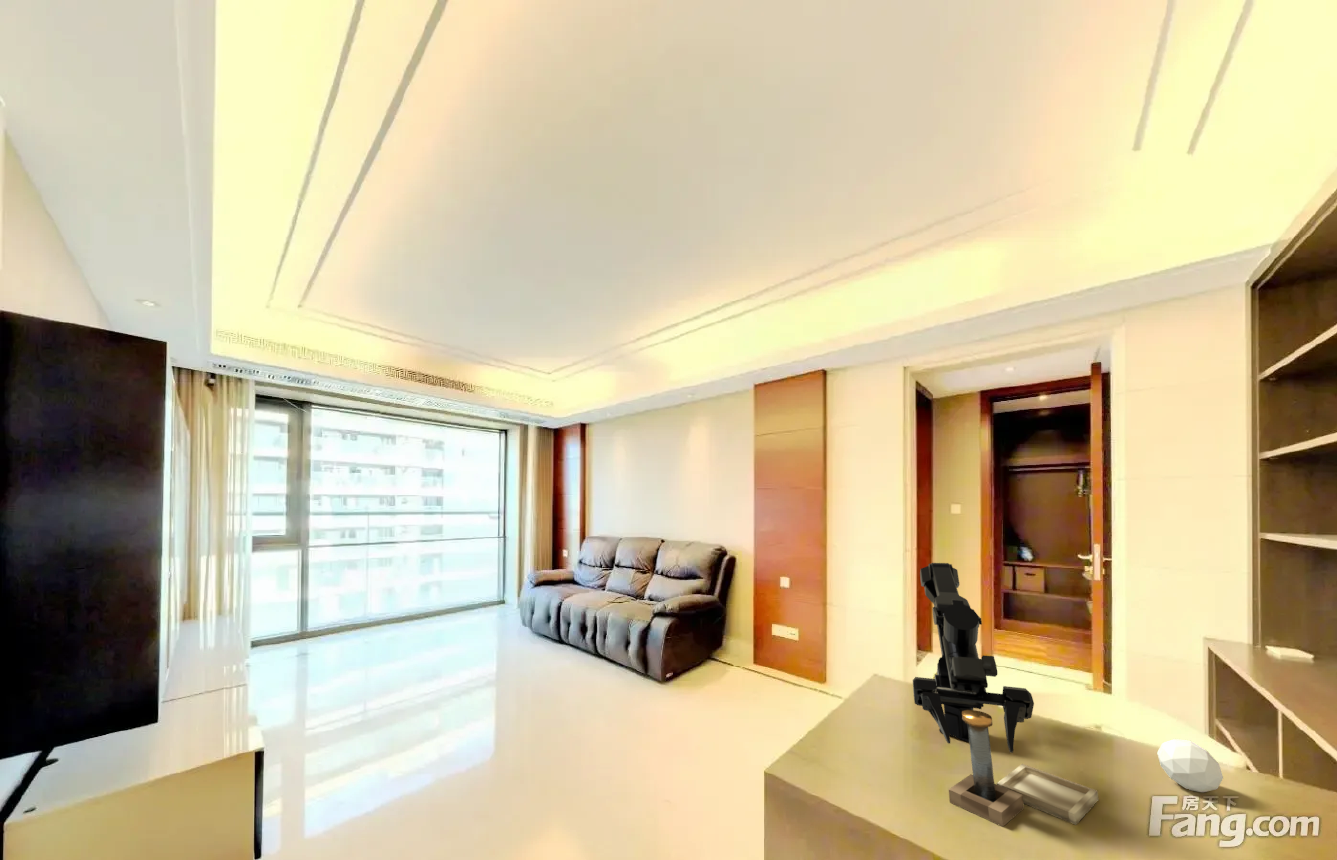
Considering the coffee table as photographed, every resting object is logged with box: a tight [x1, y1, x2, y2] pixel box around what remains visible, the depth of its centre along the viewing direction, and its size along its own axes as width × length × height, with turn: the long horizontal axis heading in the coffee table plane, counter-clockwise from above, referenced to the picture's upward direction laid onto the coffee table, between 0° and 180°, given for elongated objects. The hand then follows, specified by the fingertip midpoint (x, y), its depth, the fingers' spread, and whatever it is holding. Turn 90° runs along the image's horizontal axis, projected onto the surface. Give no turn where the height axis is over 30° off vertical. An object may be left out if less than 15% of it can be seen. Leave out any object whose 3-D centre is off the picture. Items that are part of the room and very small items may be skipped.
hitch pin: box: [962, 709, 996, 802], centre depth 83 cm, size 4×4×14 cm
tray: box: [996, 763, 1100, 826], centre depth 84 cm, size 11×11×2 cm
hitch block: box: [948, 774, 1025, 827], centre depth 82 cm, size 8×8×2 cm
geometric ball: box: [1157, 738, 1224, 793], centre depth 86 cm, size 8×8×8 cm
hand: (979, 747), depth 84 cm, fingers open, 9 cm apart
